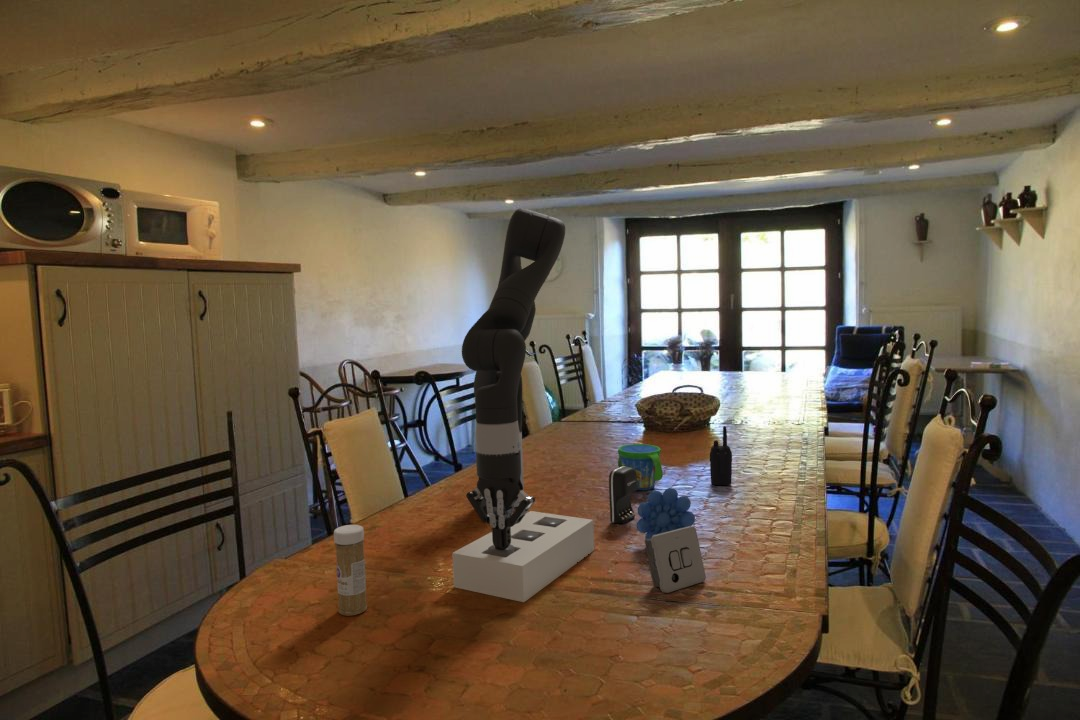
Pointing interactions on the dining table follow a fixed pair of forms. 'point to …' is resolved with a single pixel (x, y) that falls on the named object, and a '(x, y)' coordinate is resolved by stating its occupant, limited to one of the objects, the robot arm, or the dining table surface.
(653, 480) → the snack cup
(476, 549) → the knob panel
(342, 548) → the sprinkles bottle
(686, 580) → the electrical switch
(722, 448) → the two-way radio
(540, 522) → the knob
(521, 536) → the knob
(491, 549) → the knob
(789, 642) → the dining table surface
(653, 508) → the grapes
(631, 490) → the battery charger
